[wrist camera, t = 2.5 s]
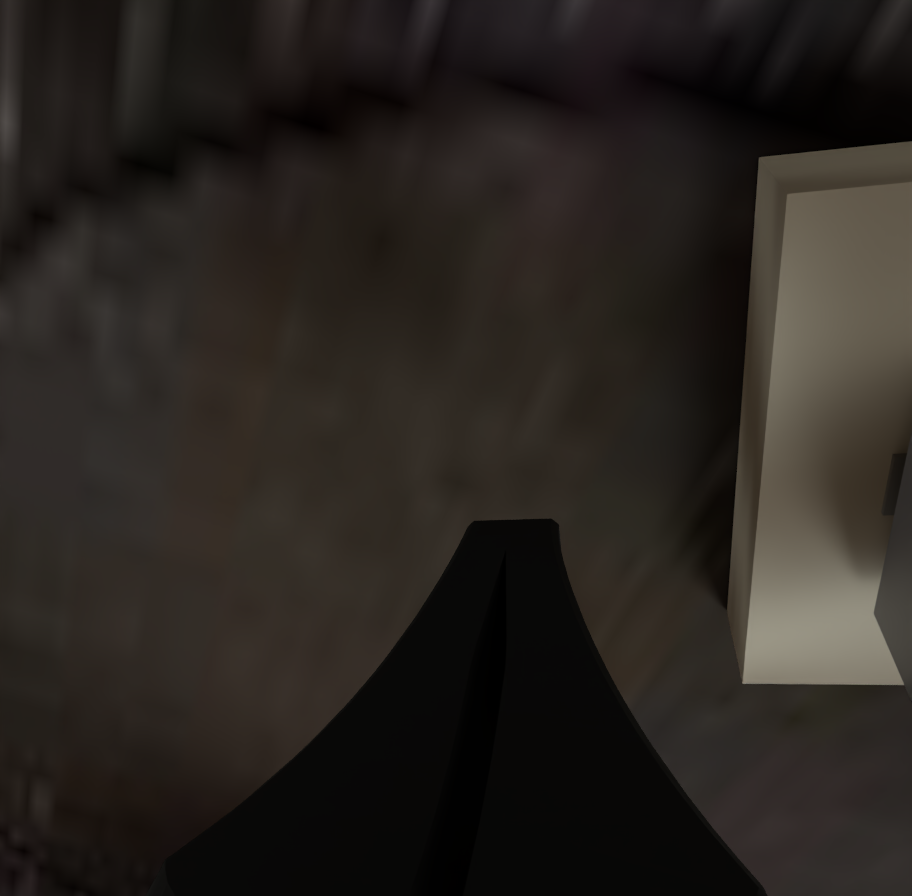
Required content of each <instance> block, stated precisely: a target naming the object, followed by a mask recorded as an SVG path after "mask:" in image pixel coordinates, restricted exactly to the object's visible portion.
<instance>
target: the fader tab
mask: <svg viewBox="0 0 912 896" xmlns="http://www.w3.org/2000/svg"><path fill="white" fill-rule="evenodd" d="M874 616H875V618H876V620H877V623H878V625H879V627H880V630H881V632H882V634H883V637H884V639H885V641H886V644H887V646H888V648H889V651H890V653H891V655H892V657H893V660H894V662H895V664H896V667H897V669H898V671H899V674H900V676H901V678H902V681H903V683H904V685H905V688H906V690H907V692H908V695H909V697H910V699H911V702H912V432H911V437H910V442H909V447H908V451H907V456H906V461H905V466H904V470H903V475H902V480H901V485H900V489H899V494H898V499H897V504H896V508H895V513H894V518H893V523H892V527H891V532H890V537H889V542H888V546H887V551H886V556H885V561H884V565H883V570H882V575H881V580H880V584H879V589H878V594H877V599H876V603H875V608H874Z"/></svg>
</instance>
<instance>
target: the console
mask: <svg viewBox="0 0 912 896" xmlns="http://www.w3.org/2000/svg"><path fill="white" fill-rule="evenodd" d="M911 432H912V141H909V142H900V143H890V144H881V145H871V146H862V147H852V148H842V149H833V150H823V151H814V152H804V153H795V154H785V155H776V156H766V157H759V164H758V178H757V192H756V206H755V221H754V235H753V249H752V263H751V278H750V292H749V306H748V320H747V335H746V349H745V363H744V377H743V391H742V406H741V420H740V434H739V448H738V463H737V477H736V491H735V505H734V519H733V534H732V548H731V562H730V576H729V591H728V605H727V615H728V620H729V624H730V629H731V633H732V638H733V643H734V647H735V652H736V656H737V661H738V665H739V670H740V674H741V679H742V684H860V685H904V683H903V681H902V678H901V676H900V674H899V671H898V669H897V667H896V664H895V662H894V660H893V657H892V655H891V653H890V651H889V648H888V646H887V644H886V641H885V639H884V637H883V634H882V632H881V630H880V627H879V625H878V623H877V620H876V618H875V616H874V608H875V603H876V599H877V594H878V589H879V584H880V580H881V575H882V570H883V565H884V561H885V556H886V551H887V546H888V542H889V537H890V532H891V527H892V523H893V518H894V513H895V508H896V504H897V499H898V494H899V489H900V485H901V480H902V475H903V470H904V466H905V461H906V456H907V451H908V447H909V442H910V437H911Z"/></svg>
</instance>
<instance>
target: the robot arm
mask: <svg viewBox="0 0 912 896" xmlns="http://www.w3.org/2000/svg"><path fill="white" fill-rule="evenodd" d="M146 896H767V894H766V892H765V890H764V888H763V886H762V885H761V884H760V883H759V882H758V880H757V879H756V878H755V877H754V876H753V875H752V874H751V872H750V871H749V870H748V869H747V868H746V867H745V866H744V865H743V863H742V862H741V861H740V860H739V859H738V858H737V857H736V855H735V854H734V853H733V852H732V851H731V849H730V848H729V847H728V846H727V845H726V843H725V842H724V841H723V840H722V839H721V837H720V836H719V835H718V834H717V833H716V831H715V830H714V829H713V828H712V826H711V825H710V824H709V823H708V821H707V820H706V819H705V817H704V816H703V815H702V814H701V812H700V811H699V810H698V808H697V807H696V806H695V805H694V803H693V802H692V801H691V799H690V798H689V797H688V796H687V794H686V793H685V792H684V790H683V789H682V787H681V786H680V784H679V783H678V782H677V780H676V779H675V777H674V776H673V774H672V773H671V772H670V770H669V769H668V767H667V766H666V765H665V763H664V762H663V760H662V759H661V757H660V756H659V755H658V753H657V752H656V750H655V749H654V747H653V746H652V745H651V743H650V742H649V740H648V739H647V737H646V735H645V734H644V732H643V731H642V729H641V727H640V726H639V724H638V723H637V721H636V719H635V718H634V716H633V715H632V713H631V711H630V710H629V708H628V706H627V704H626V703H625V701H624V699H623V697H622V696H621V694H620V692H619V691H618V689H617V687H616V685H615V683H614V681H613V680H612V678H611V676H610V674H609V672H608V670H607V668H606V666H605V664H604V662H603V660H602V658H601V656H600V654H599V652H598V650H597V648H596V646H595V644H594V642H593V640H592V637H591V635H590V633H589V631H588V628H587V626H586V624H585V621H584V619H583V616H582V614H581V611H580V609H579V606H578V604H577V601H576V598H575V596H574V593H573V591H572V588H571V585H570V582H569V579H568V575H567V572H566V568H565V565H564V561H563V557H562V553H561V544H560V532H559V524H558V523H556V522H555V521H554V520H552V519H522V520H489V521H473V522H472V523H471V524H470V525H469V526H468V528H467V530H466V532H465V534H464V536H463V538H462V540H461V542H460V544H459V546H458V548H457V550H456V551H455V553H454V555H453V557H452V559H451V560H450V562H449V564H448V566H447V567H446V569H445V571H444V573H443V574H442V576H441V578H440V579H439V581H438V583H437V584H436V586H435V587H434V589H433V591H432V592H431V594H430V595H429V597H428V598H427V600H426V602H425V603H424V605H423V606H422V608H421V609H420V611H419V612H418V614H417V615H416V617H415V618H414V620H413V621H412V623H411V624H410V625H409V627H408V628H407V630H406V631H405V632H404V634H403V635H402V636H401V638H400V639H399V641H398V642H397V643H396V645H395V646H394V647H393V649H392V650H391V652H390V653H389V654H388V656H387V657H386V658H385V659H384V661H383V662H382V663H381V665H380V666H379V667H378V668H377V670H376V671H375V672H374V673H373V674H372V676H371V677H370V678H369V679H368V680H367V682H366V683H365V684H364V685H363V686H362V687H361V689H360V690H359V691H358V692H357V693H356V694H355V695H354V697H353V698H352V699H351V700H350V701H349V702H348V703H347V705H346V706H345V707H344V708H343V709H342V710H341V711H340V712H339V713H338V714H337V715H336V716H335V717H334V718H333V719H332V720H331V721H330V722H329V723H328V724H327V725H326V727H325V728H324V729H323V730H322V731H321V732H320V733H319V734H318V735H317V736H316V737H315V738H314V739H313V740H312V741H311V742H310V743H309V744H308V745H307V746H306V747H305V748H304V749H303V750H301V751H300V752H299V753H298V754H297V755H296V756H295V757H294V758H293V759H292V760H291V761H289V762H288V763H287V764H286V765H285V766H284V767H283V768H281V769H280V770H279V771H278V772H277V773H276V774H275V775H273V776H272V777H271V778H270V779H269V780H268V781H267V782H265V783H264V784H263V785H262V786H261V787H260V788H259V789H257V790H256V791H255V792H254V793H253V794H252V795H251V796H249V797H248V798H247V799H246V800H245V801H243V802H242V803H241V804H240V805H238V806H237V807H236V808H235V809H234V810H232V811H231V812H230V813H228V814H227V815H226V816H224V817H223V818H222V819H220V820H219V821H218V822H216V823H215V824H214V825H212V826H211V827H210V828H208V829H207V830H205V831H204V832H203V833H201V834H200V835H199V836H197V837H196V838H195V839H193V840H192V841H191V842H189V843H188V844H187V845H185V846H184V847H183V848H181V849H180V850H178V851H177V852H176V853H174V854H173V855H171V856H170V857H168V858H167V859H166V860H165V861H164V863H163V865H162V867H161V869H160V871H159V873H158V875H157V876H156V878H155V880H154V882H153V883H152V885H151V887H150V888H149V890H148V892H147V894H146Z"/></svg>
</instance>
